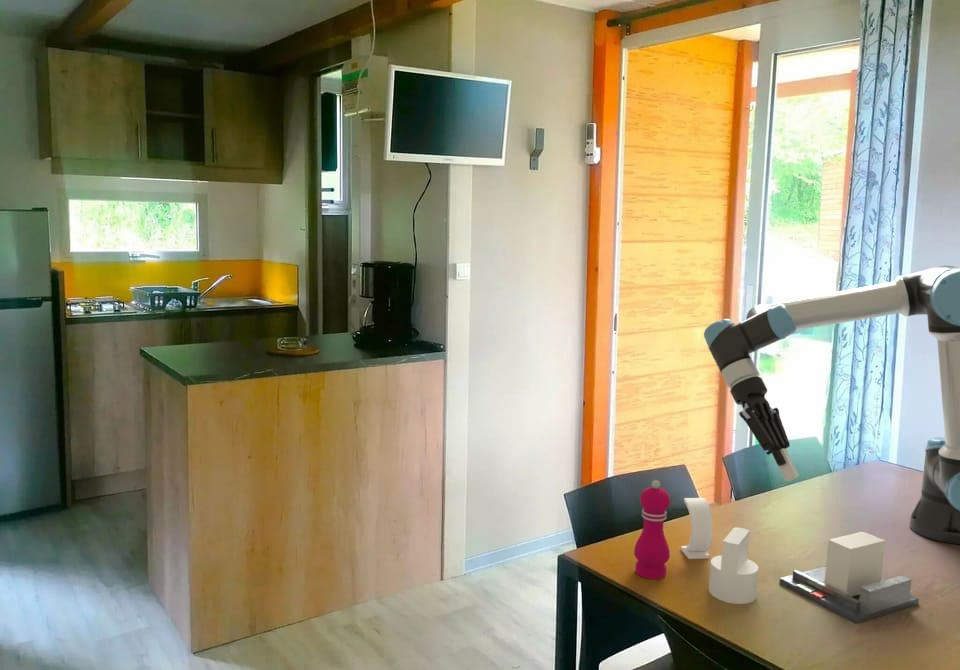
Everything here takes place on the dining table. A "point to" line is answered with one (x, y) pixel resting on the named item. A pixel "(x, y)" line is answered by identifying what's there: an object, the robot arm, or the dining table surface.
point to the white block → (854, 562)
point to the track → (855, 608)
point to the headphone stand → (699, 529)
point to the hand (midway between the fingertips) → (792, 478)
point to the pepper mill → (653, 534)
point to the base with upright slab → (734, 570)
